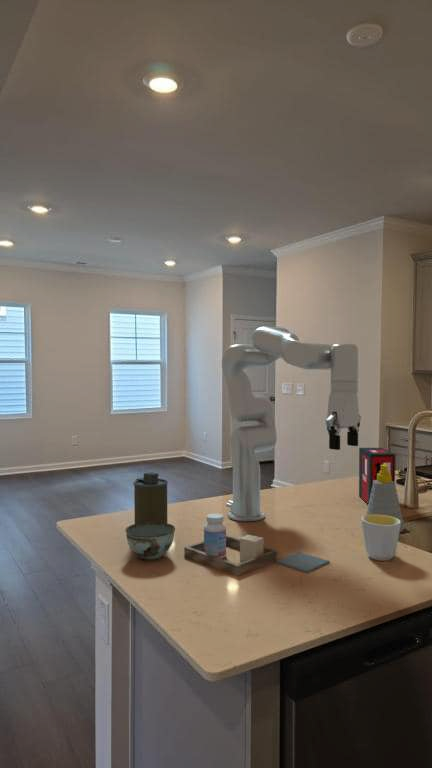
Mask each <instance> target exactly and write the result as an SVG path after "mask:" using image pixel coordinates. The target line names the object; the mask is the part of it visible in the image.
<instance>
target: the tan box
mask: <svg viewBox="0 0 432 768" xmlns="http://www.w3.org/2000/svg"><path fill="white" fill-rule="evenodd" d="M239 539H240V549H239V561H242V562H244V561H247V560H249V559H252V558H255V557H257V556H260V555H263V554H264V547H265V546H264V537H261V536H256V535H251V534H246V535H244V536H242V537H240V538H239Z"/></svg>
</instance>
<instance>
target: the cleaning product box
mask: <svg viewBox="0 0 432 768" xmlns="http://www.w3.org/2000/svg"><path fill="white" fill-rule="evenodd" d="M358 449H359V450H358V451H359V452H358V457H359V458H358V460H359V461H358V480H359V481H358V498H359V497H360V498H361V499H362V500H363V501H364V502H365V503H366V504H365V503H364V502H363V501H362V500H361V499H360V498H359V499H360V500H361V501H362V502H363V503H364V504H365V505H367V506H368V504H369V499H370V494H371V490H372V487H373V482H374V481H375V480H377V474H378V473H379V471H381V466H380V465H383V464H384V463H386V465H388V472H389V474H391V481H393V482H394V483H395V482H396V454H395V453H393V452H391V451H389V450H388V449H385V448H384V447H359V448H358ZM395 484H396V483H395Z"/></svg>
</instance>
